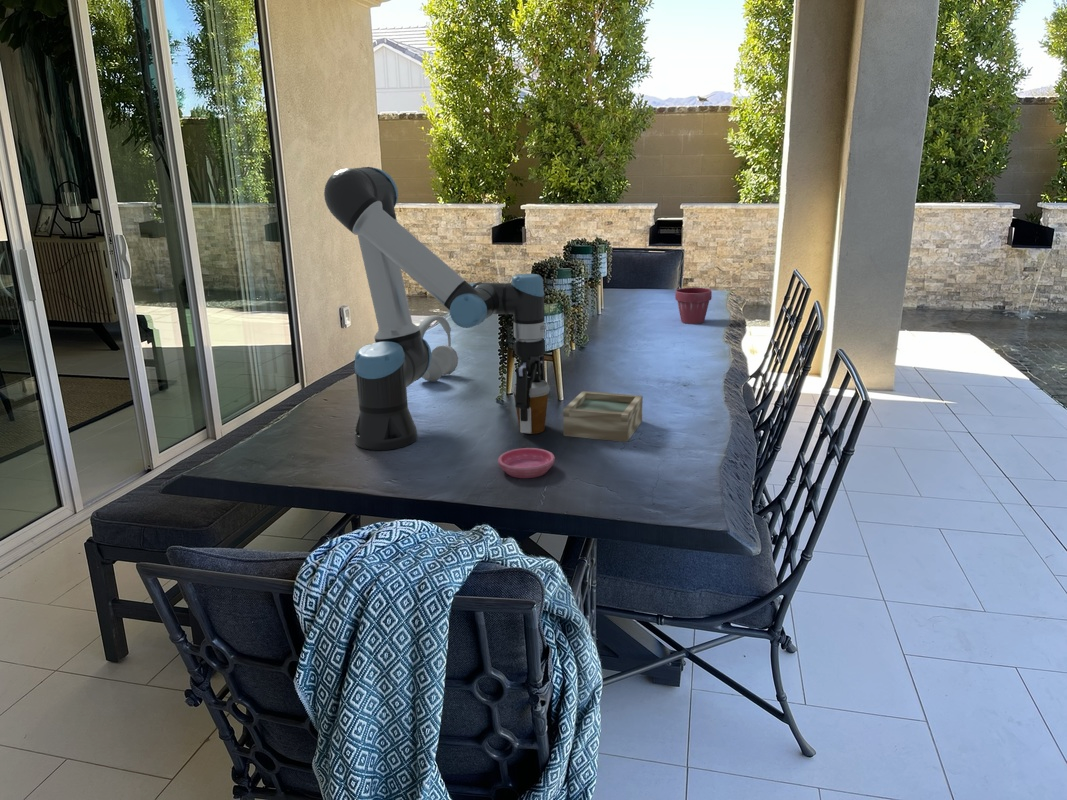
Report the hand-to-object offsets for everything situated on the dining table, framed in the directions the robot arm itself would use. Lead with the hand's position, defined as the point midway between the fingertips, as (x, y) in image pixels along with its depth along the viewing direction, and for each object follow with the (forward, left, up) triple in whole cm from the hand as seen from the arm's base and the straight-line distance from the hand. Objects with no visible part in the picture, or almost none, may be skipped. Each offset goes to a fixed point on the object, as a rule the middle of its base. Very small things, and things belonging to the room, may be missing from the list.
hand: (532, 426), depth 201 cm
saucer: (-25, -8, -1) cm, 26 cm away
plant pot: (+139, -17, -1) cm, 140 cm away
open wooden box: (+6, -17, -1) cm, 18 cm away
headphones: (+36, +45, -1) cm, 58 cm away
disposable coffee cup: (0, 0, -1) cm, 1 cm away
